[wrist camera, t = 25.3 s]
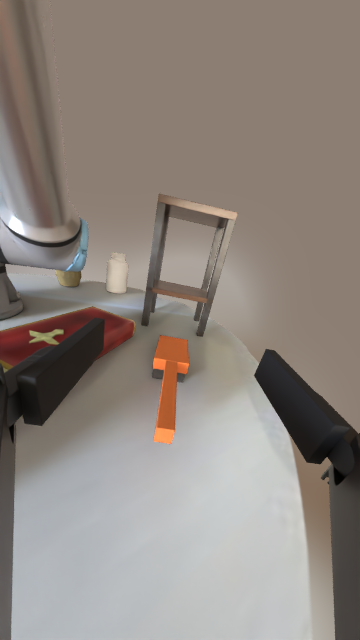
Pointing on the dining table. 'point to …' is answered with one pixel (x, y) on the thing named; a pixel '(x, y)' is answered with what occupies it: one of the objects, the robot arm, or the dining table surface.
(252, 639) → the dining table surface
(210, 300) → the metal plant stand
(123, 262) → the pill bottle
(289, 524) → the dining table surface
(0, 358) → the hardcover book
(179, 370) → the brush
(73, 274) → the squeeze bottle
